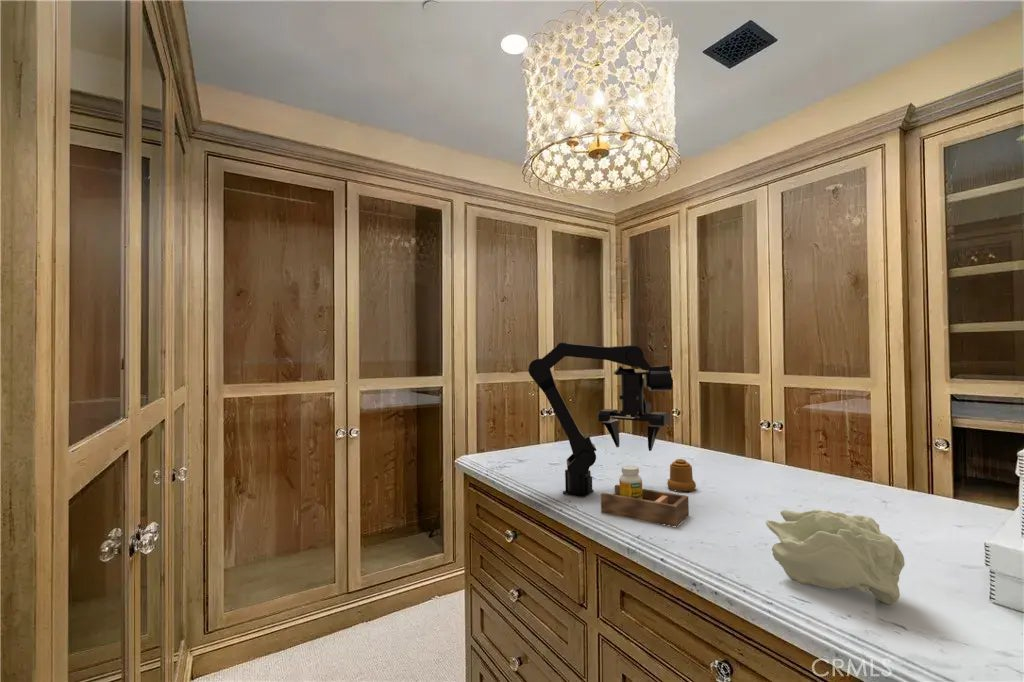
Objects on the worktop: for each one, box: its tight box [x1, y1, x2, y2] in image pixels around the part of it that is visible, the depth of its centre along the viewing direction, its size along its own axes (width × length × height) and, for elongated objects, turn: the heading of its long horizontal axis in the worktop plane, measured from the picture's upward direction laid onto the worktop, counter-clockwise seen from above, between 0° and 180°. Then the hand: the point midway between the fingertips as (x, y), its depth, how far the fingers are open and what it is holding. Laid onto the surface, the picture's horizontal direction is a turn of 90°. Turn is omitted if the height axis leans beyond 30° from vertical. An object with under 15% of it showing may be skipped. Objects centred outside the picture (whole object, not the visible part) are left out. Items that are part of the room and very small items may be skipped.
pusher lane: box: [600, 484, 690, 528], centre depth 113 cm, size 18×9×4 cm, turn 53°
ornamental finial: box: [666, 458, 697, 492], centre depth 133 cm, size 8×8×8 cm
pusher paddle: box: [655, 495, 668, 504], centre depth 111 cm, size 1×6×3 cm, turn 144°
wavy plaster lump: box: [765, 509, 906, 605], centre depth 77 cm, size 18×13×16 cm
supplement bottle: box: [618, 465, 643, 499], centre depth 115 cm, size 5×5×10 cm
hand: (633, 448), depth 130 cm, fingers open, 9 cm apart
